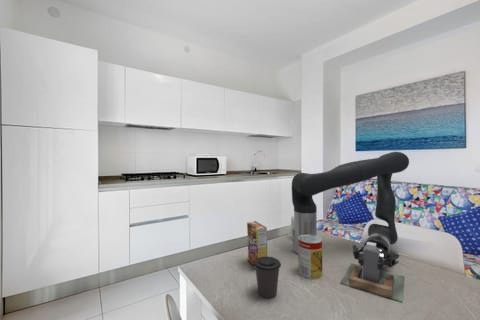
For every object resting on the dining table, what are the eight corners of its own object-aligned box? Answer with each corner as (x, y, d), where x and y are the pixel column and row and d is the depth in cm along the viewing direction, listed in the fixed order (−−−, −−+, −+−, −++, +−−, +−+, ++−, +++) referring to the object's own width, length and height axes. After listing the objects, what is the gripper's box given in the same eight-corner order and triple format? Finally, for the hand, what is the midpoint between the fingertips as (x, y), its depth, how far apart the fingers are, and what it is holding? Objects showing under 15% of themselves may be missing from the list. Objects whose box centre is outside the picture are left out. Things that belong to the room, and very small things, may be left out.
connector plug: (363, 281, 71) (363, 244, 70) (365, 275, 74) (365, 240, 74) (378, 285, 68) (378, 247, 68) (379, 279, 71) (379, 243, 71)
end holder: (340, 283, 72) (340, 275, 72) (351, 264, 85) (351, 257, 85) (402, 302, 62) (402, 293, 62) (404, 277, 75) (404, 270, 75)
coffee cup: (274, 305, 62) (274, 268, 62) (248, 296, 66) (248, 261, 66) (285, 290, 69) (285, 257, 68) (261, 282, 73) (260, 251, 73)
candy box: (247, 261, 88) (246, 221, 88) (256, 259, 90) (256, 220, 90) (257, 271, 80) (257, 228, 80) (268, 269, 82) (267, 226, 81)
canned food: (326, 272, 79) (325, 238, 79) (316, 281, 73) (316, 244, 73) (305, 265, 84) (304, 233, 84) (294, 273, 79) (294, 238, 78)
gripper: (355, 232, 87) (344, 247, 73) (401, 240, 78) (398, 258, 64) (355, 251, 87) (344, 270, 73) (401, 262, 78) (398, 284, 64)
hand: (370, 264), depth 69 cm, fingers open, 4 cm apart
